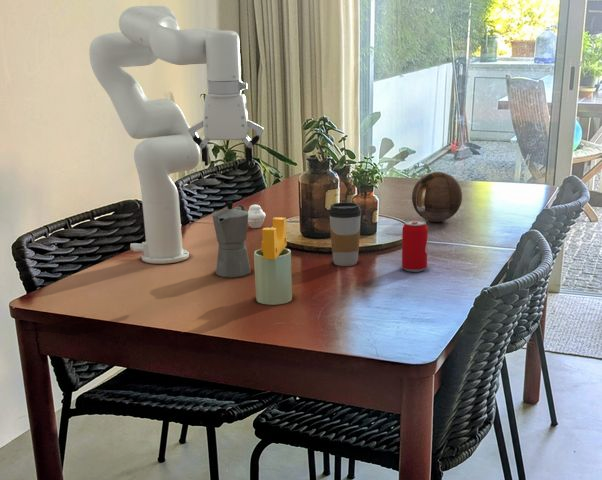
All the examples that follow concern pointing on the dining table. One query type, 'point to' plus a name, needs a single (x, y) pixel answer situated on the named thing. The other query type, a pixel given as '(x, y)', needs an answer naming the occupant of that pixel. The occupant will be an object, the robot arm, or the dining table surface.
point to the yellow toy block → (274, 238)
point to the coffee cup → (345, 232)
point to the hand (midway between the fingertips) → (227, 164)
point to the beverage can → (414, 245)
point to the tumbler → (273, 278)
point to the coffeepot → (231, 241)
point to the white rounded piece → (255, 216)
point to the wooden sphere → (437, 196)
